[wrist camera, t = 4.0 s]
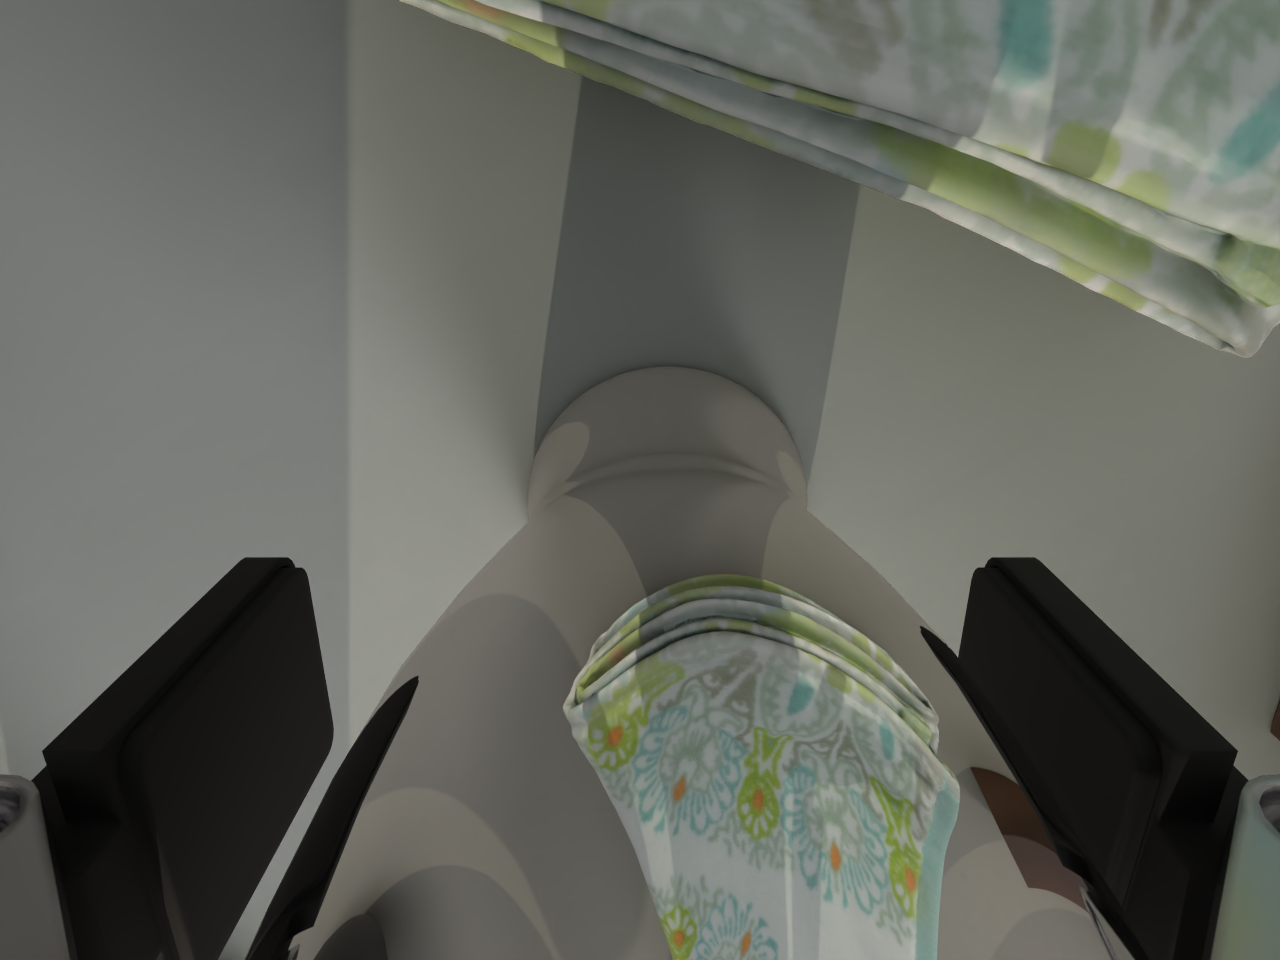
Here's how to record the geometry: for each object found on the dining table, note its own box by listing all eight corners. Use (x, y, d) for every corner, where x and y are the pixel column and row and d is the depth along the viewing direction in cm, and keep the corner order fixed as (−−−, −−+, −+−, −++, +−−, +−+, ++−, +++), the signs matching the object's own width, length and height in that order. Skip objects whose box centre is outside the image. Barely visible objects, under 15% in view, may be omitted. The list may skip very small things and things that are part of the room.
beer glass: (703, 273, 16) (1126, 990, 2) (885, 529, 18) (1815, 1899, 3) (445, 469, 17) (-484, 1707, 3) (636, 686, 19) (585, 2073, 5)
